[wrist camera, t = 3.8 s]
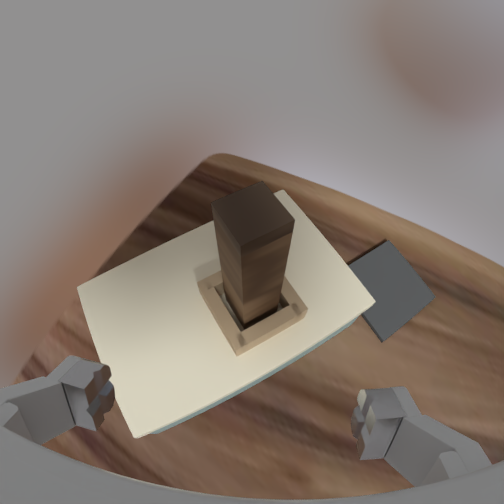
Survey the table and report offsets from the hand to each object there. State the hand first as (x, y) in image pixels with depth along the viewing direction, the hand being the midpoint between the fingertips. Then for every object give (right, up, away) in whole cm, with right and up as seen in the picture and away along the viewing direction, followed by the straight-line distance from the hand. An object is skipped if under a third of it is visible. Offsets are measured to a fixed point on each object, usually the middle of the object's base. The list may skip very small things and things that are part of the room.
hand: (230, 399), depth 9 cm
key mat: (+16, +1, +24) cm, 28 cm away
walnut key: (+1, 0, +17) cm, 16 cm away
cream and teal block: (-2, -2, +22) cm, 22 cm away
